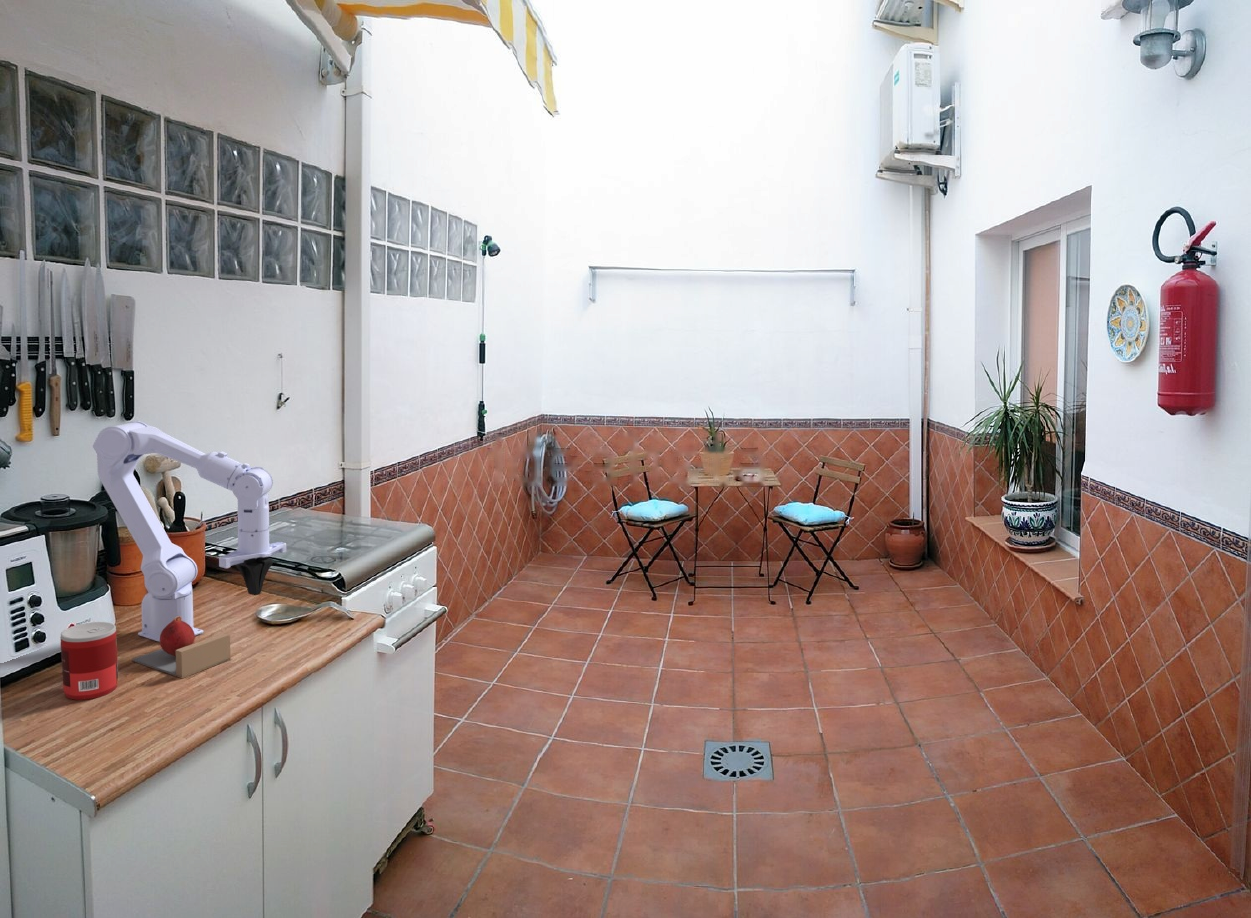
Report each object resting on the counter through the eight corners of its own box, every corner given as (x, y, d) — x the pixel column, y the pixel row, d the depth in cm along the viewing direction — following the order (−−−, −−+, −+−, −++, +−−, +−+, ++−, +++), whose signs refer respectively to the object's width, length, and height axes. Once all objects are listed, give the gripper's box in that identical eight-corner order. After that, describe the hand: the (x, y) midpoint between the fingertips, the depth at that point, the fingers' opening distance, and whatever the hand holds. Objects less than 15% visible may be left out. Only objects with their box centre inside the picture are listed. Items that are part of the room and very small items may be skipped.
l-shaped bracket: (132, 660, 152) (131, 635, 151) (181, 643, 161) (180, 619, 160) (182, 678, 146) (181, 652, 145) (230, 659, 155) (229, 634, 154)
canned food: (129, 685, 142) (126, 626, 140) (85, 704, 135) (82, 641, 133) (97, 677, 144) (94, 618, 143) (52, 695, 137) (49, 633, 135)
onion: (179, 664, 150) (178, 623, 149) (152, 660, 151) (151, 619, 150) (201, 653, 156) (201, 613, 155) (175, 649, 157) (174, 609, 156)
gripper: (236, 539, 154) (237, 607, 156) (296, 524, 167) (297, 588, 169) (211, 533, 157) (212, 600, 159) (272, 519, 170) (273, 581, 172)
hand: (254, 593), depth 164 cm, fingers closed
